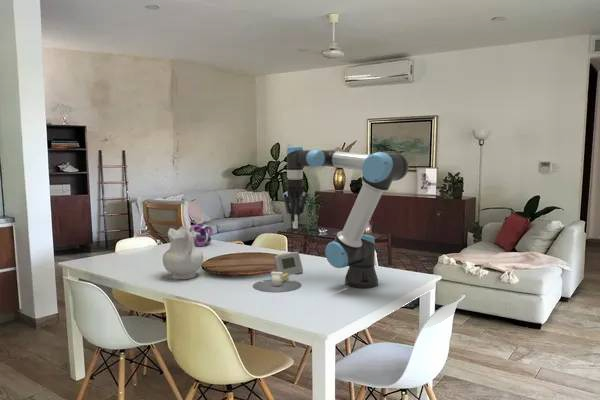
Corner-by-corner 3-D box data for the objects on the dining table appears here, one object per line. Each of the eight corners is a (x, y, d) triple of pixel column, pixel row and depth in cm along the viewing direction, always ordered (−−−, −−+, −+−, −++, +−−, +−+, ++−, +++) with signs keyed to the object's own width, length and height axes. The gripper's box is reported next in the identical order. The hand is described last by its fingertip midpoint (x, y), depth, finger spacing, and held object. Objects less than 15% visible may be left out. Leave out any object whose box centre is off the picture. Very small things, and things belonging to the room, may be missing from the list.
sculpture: (184, 248, 311) (189, 242, 293) (188, 224, 316) (193, 217, 299) (207, 251, 316) (213, 245, 298) (210, 227, 322) (216, 221, 304)
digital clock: (278, 279, 222) (278, 257, 221) (269, 275, 230) (269, 254, 229) (307, 274, 231) (307, 253, 230) (297, 270, 238) (297, 250, 237)
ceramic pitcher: (213, 279, 225) (215, 228, 225) (178, 284, 211) (180, 230, 210) (188, 272, 240) (190, 224, 239) (154, 276, 226) (156, 225, 225)
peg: (280, 286, 205) (280, 274, 204) (269, 285, 207) (269, 273, 206) (292, 279, 217) (292, 267, 216) (282, 278, 219) (282, 266, 218)
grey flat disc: (311, 286, 209) (311, 284, 209) (278, 297, 192) (278, 295, 192) (276, 278, 223) (276, 276, 223) (242, 287, 207) (242, 285, 207)
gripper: (304, 178, 225) (304, 226, 227) (279, 178, 220) (279, 228, 222) (310, 178, 218) (310, 228, 220) (285, 179, 213) (285, 230, 215)
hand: (295, 228), depth 221 cm, fingers closed
